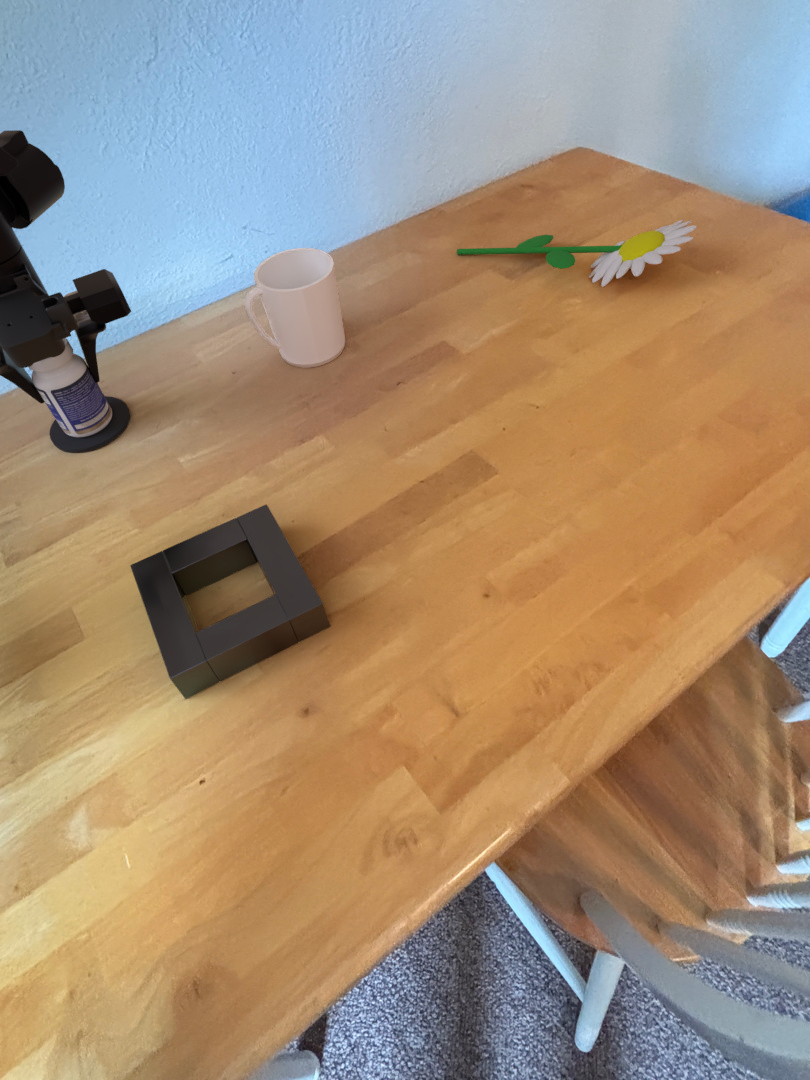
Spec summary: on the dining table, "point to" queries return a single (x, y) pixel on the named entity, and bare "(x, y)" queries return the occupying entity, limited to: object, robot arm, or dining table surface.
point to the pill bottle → (71, 393)
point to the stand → (243, 634)
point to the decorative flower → (605, 251)
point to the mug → (299, 306)
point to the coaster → (98, 439)
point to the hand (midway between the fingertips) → (69, 390)
